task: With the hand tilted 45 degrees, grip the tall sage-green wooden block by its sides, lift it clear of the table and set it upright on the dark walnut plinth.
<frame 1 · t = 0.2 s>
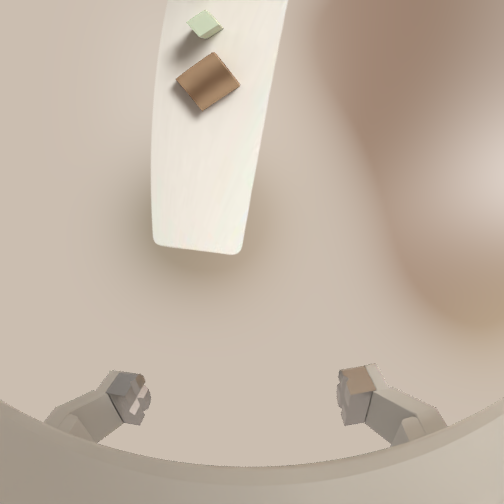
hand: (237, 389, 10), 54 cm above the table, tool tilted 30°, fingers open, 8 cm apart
plinth: (209, 80, 46), on the table
block: (209, 26, 38), on the table
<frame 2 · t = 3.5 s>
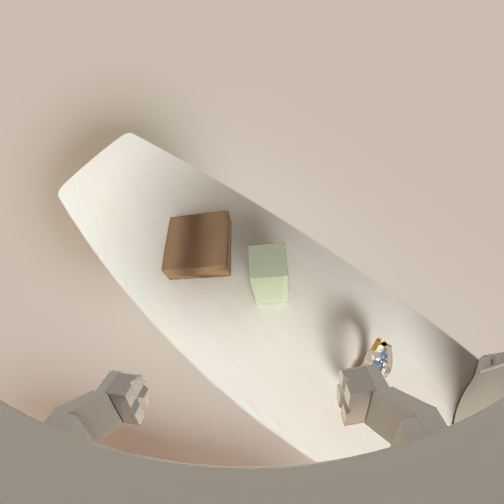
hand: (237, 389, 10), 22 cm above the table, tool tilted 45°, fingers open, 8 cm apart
plinth: (201, 250, 40), on the table
block: (271, 289, 36), on the table
ring: (358, 372, 29), on the table
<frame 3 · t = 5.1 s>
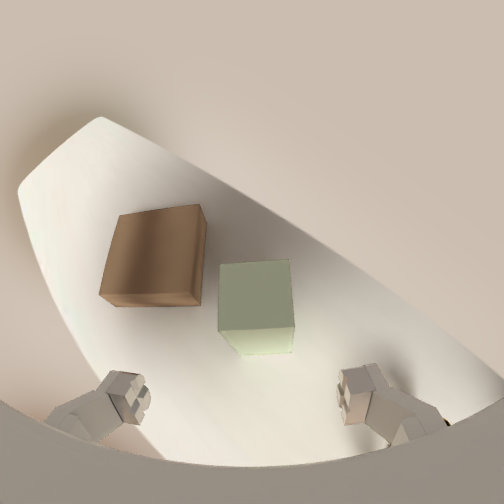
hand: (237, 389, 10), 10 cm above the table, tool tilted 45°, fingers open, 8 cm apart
plinth: (160, 264, 26), on the table
block: (265, 331, 21), on the table
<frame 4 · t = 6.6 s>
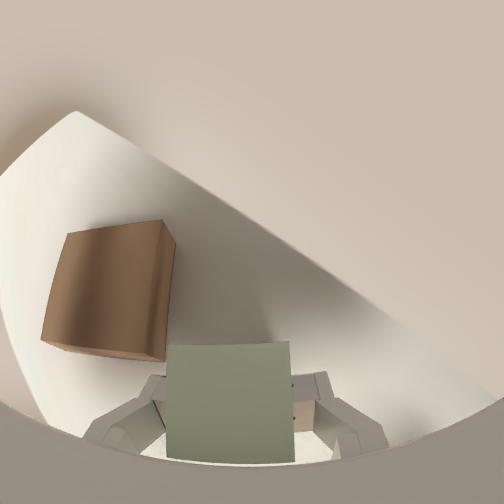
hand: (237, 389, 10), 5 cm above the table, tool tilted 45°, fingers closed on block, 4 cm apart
plinth: (116, 298, 18), on the table
block: (251, 402, 14), on the table, touching gripper
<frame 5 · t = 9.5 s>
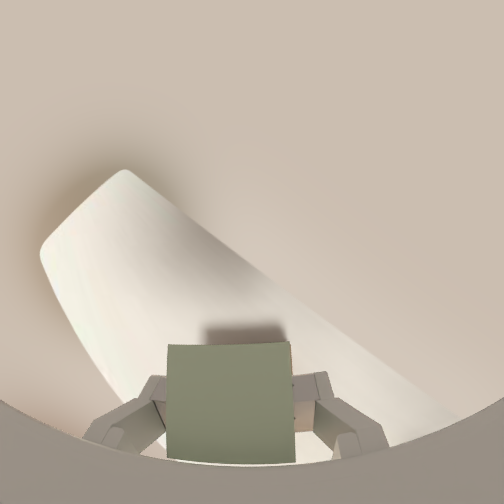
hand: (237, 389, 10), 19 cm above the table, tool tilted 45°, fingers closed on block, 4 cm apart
block: (251, 402, 14), point 14 cm above the table, touching gripper
when the fingers open (9 cm above the table, at t = 12.3 s): block stays where it is, resting on plinth.
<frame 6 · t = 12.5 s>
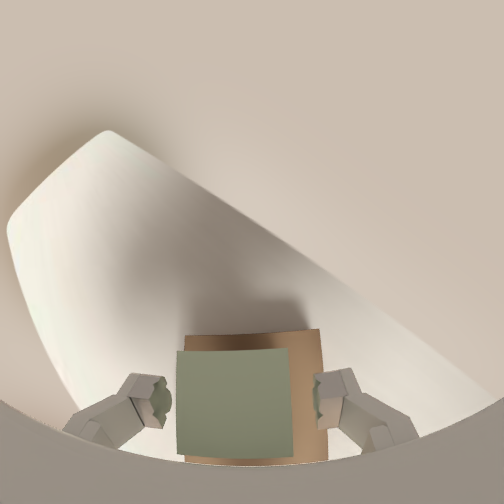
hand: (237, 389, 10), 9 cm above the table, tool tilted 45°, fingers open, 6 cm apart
plinth: (256, 400, 18), on the table
block: (253, 402, 15), point 3 cm above the table, touching plinth
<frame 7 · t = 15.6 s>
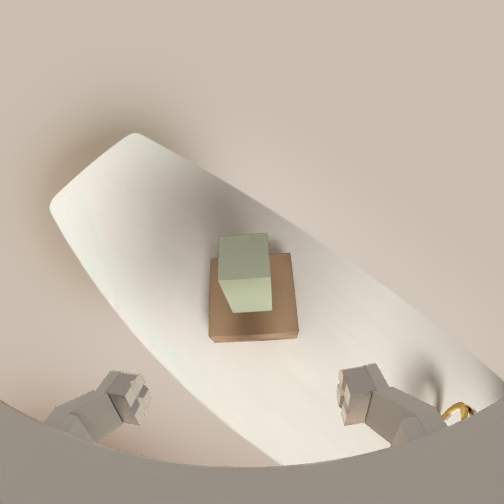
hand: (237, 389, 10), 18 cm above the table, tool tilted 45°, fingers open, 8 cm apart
plinth: (253, 302, 31), on the table
block: (251, 293, 28), point 3 cm above the table, touching plinth
ring: (431, 431, 20), on the table
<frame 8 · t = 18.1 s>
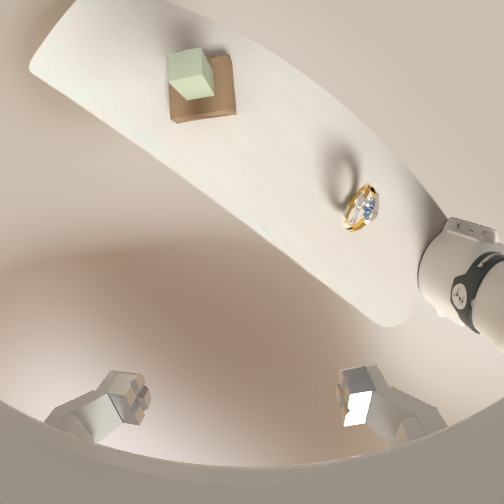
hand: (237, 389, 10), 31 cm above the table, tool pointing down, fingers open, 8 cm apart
plinth: (204, 91, 35), on the table
block: (199, 85, 32), point 3 cm above the table, touching plinth
ring: (349, 204, 38), on the table
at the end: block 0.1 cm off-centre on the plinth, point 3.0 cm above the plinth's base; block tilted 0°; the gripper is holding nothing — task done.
